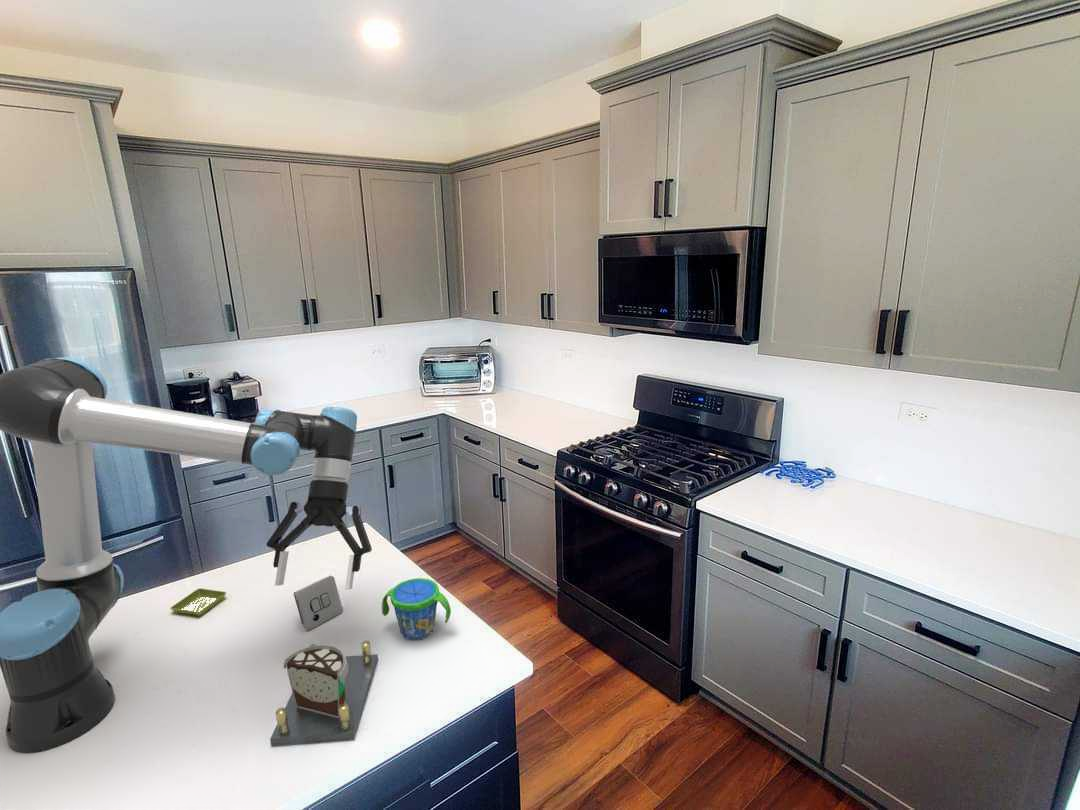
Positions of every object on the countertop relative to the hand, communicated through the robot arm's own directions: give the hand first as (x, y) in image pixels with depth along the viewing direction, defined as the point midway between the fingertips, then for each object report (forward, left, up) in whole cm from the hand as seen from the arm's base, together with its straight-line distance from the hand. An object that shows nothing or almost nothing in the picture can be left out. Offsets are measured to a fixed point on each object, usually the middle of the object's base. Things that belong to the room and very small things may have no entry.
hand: (314, 587), depth 111 cm
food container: (+5, -12, -16) cm, 21 cm away
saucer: (-37, +24, -18) cm, 47 cm away
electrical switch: (-6, +16, -18) cm, 25 cm away
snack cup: (+18, +9, -18) cm, 27 cm away
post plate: (+4, -10, -18) cm, 21 cm away
